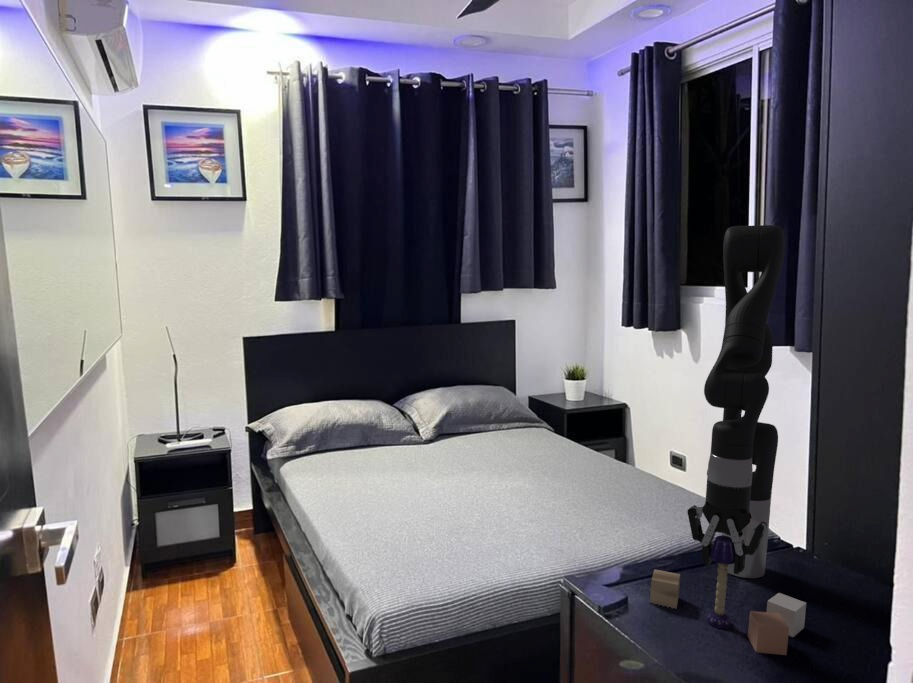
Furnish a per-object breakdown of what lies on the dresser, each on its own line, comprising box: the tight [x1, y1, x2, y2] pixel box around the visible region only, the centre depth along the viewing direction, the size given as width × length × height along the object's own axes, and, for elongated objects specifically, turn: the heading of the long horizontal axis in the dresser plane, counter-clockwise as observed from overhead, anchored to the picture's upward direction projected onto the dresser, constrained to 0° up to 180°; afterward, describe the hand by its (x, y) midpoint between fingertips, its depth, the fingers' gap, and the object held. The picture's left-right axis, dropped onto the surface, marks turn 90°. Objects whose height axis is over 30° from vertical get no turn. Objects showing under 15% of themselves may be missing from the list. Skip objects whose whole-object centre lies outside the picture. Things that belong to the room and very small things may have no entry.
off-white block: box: [766, 592, 807, 638], centre depth 126 cm, size 5×5×5 cm
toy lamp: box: [706, 534, 736, 630], centre depth 126 cm, size 5×5×17 cm
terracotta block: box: [747, 610, 789, 656], centre depth 120 cm, size 5×5×5 cm
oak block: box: [649, 569, 681, 610], centre depth 135 cm, size 5×5×5 cm
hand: (722, 568), depth 126 cm, fingers closed on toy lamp, 4 cm apart
